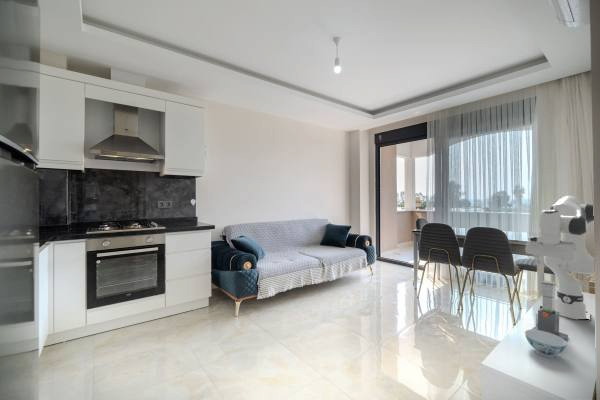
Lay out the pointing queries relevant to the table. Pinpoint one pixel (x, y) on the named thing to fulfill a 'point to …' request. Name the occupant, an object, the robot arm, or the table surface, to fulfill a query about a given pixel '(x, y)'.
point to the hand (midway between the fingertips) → (549, 264)
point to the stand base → (549, 323)
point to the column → (549, 296)
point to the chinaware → (545, 342)
